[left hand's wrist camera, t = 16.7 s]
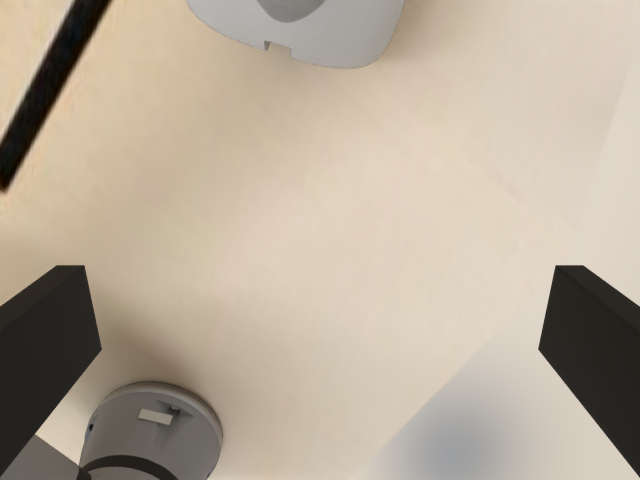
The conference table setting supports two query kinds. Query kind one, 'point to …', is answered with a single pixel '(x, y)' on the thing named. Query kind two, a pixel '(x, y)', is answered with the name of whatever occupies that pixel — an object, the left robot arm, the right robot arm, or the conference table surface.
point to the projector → (307, 27)
